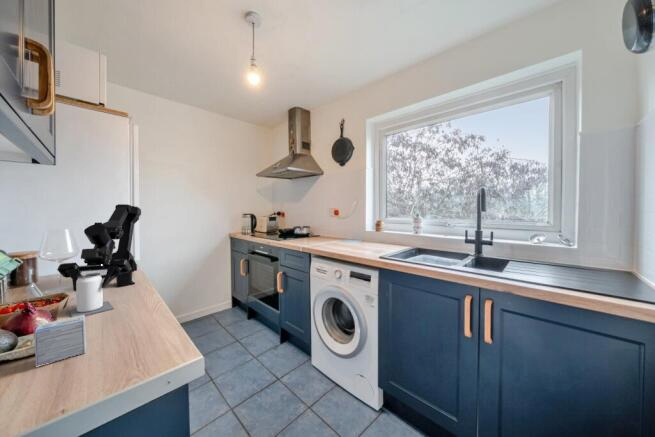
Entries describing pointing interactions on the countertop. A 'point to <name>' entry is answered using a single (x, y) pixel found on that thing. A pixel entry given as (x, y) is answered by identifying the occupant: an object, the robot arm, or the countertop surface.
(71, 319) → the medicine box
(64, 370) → the countertop surface
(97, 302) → the can
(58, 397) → the countertop surface
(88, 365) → the countertop surface
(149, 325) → the countertop surface
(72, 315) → the mat
